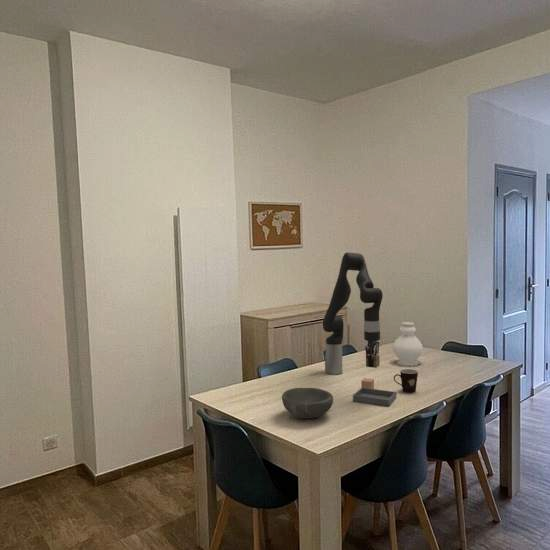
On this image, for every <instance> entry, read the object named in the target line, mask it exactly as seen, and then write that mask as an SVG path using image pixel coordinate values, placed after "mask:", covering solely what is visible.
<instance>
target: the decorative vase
mask: <svg viewBox="0 0 550 550" xmlns="http://www.w3.org/2000/svg"><path fill="white" fill-rule="evenodd" d="M401 325H402V326H400V328H399V331H400V333H401V335H399V336H398V337H397V338H396V340H395V341H394V343H393V345H392V351H393V353H394V354H395V356H396V357H397V358H398V359H399V360H398V361H397V362H396V363H397V364H398V365H400V366H406V367H413V366H415V367H416V366H417V365H419V362H418V361H417V360H418V359H419V358H420V357H421V356H422V355H423V351H424V348H423V344H422V342H421V341H420V339H419V338H418V337H417V336H416V335H414V333H415V332H416V331H417V330H416V327H415V326H414V325H415V323H414V322H413V321H402V322H401Z"/></svg>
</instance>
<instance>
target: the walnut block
mask: <svg viewBox="0 0 550 550" xmlns="http://www.w3.org/2000/svg"><path fill="white" fill-rule="evenodd" d="M380 363H381V362H380V355H379V354H378V355H374V356H373V367H372V369H373V368H375V369H376V368H378V367H380ZM365 368H370V367H369V365H368V358H366V357H365Z"/></svg>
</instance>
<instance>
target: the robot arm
mask: <svg viewBox="0 0 550 550" xmlns="http://www.w3.org/2000/svg"><path fill="white" fill-rule="evenodd" d="M339 268H340V269H339V273H338V276H337V279H336V282H335V286H334V289H333V293H332V294H331V295H332V296H331V299H330V302H329V304H328V307H327V310H326V313H325V315H324V316H323V319H322V320H323V321H322V328H323V331H324V332H326V333H332V334H330V335H329V336H328V337H326V339H325V350H326V351H325V352H326V353H325V356H324V369H325V370H324V372H325V374H328V375H341V374H343V370H344V369H343V340H344V319H343V317H342V316H341V315H339V314H338V313H339V312H340V310H342V309H343V308H344V307H345V306H346V305H347V303H348V302H349V299H350V296H351V293H352V289H351V288H352V287H351V285H350V282H349V279H348V277H347V276H348V271H353V272H354V271H355V272H356V271H358V273H357V275H356V278H355V282H356V284H357V286H358V289H359V299H360V301H361V303H364V304H372V305H371V306H369V307H367V308H364V310H363V317H364V319H363V321H364V322H363V336H364V337H363V339H364V341H367V344H366V346H365V347H364V348H365V359H366V358H368V365H369V367H368V368H373V356H374V355H379V353H380V352H379V350H380V342H379V341H380V340H381V324H380V323H381V322H380V310H381V304H382V301H383V296H384V294H383V291H382V289H380V288H379V287H375V285H374V282H373V281H372V278H371V277H370V275H369V271H368V267H367V263H366V260H365V257H364V255H363V254H361V253H357V252H348V251H347V252H345V253H343V256H342V259H341V263H340V267H339Z"/></svg>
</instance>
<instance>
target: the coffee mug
mask: <svg viewBox="0 0 550 550" xmlns="http://www.w3.org/2000/svg"><path fill="white" fill-rule="evenodd" d="M418 374H419V371H418V370H417V369H413V368H412V369H411V368H404V369H400V374H398V373H397V374H395V375H393V380H394V382H395V383H396V384H398V385H400V386H401V388H402V392H404V393H406V394H412V393H416V391H417V386H418V385H417V384H418V383H417V382H418V377H419V376H418ZM398 376H399V377H400V381H401V383H400V382H398V381H397V380H396V377H398Z"/></svg>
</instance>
